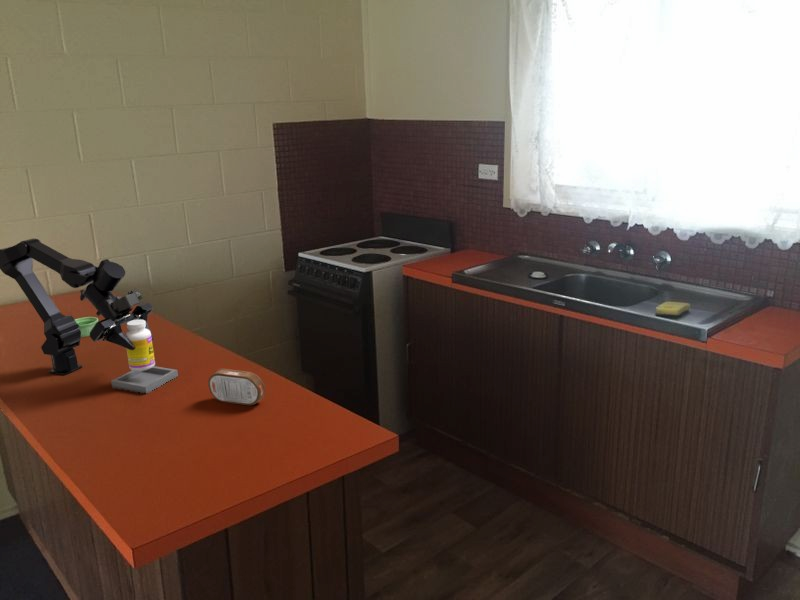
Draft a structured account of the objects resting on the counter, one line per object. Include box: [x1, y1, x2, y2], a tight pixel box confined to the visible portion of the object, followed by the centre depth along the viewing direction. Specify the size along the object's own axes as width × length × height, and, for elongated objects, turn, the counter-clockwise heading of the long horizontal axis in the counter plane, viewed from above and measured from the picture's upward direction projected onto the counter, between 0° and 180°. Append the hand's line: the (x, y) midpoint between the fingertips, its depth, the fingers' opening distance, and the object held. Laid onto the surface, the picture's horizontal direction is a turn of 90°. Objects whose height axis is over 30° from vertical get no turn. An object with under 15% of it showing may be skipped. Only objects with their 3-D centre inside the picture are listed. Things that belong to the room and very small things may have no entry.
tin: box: [207, 368, 266, 406], centre depth 169 cm, size 15×3×8 cm, turn 71°
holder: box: [110, 365, 179, 395], centre depth 184 cm, size 12×12×2 cm
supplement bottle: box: [124, 320, 156, 371], centre depth 182 cm, size 7×7×13 cm
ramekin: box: [74, 316, 99, 338], centre depth 226 cm, size 9×9×4 cm
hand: (143, 344), depth 181 cm, fingers closed on supplement bottle, 7 cm apart
